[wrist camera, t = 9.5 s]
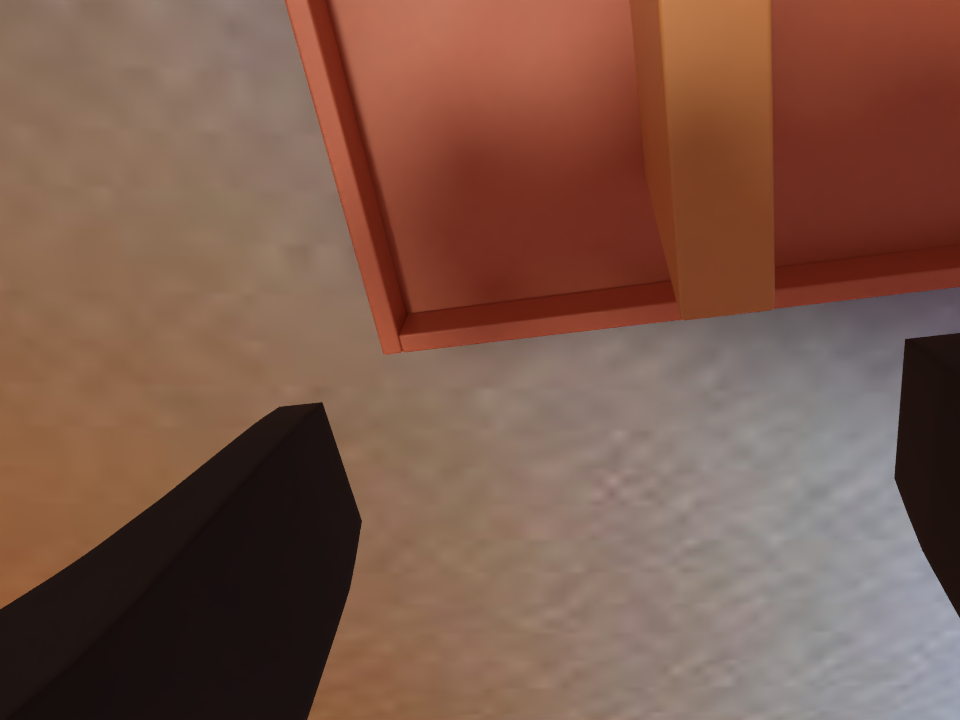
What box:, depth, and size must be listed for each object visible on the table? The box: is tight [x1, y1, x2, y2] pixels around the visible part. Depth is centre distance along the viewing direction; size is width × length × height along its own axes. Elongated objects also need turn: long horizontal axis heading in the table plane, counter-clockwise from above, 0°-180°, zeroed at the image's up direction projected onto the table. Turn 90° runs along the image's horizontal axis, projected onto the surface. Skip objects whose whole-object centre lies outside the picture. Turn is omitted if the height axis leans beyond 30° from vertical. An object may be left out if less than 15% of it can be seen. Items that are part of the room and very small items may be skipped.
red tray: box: [285, 0, 960, 354], centre depth 17 cm, size 15×12×2 cm
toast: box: [630, 0, 775, 320], centre depth 14 cm, size 1×6×7 cm, turn 11°
